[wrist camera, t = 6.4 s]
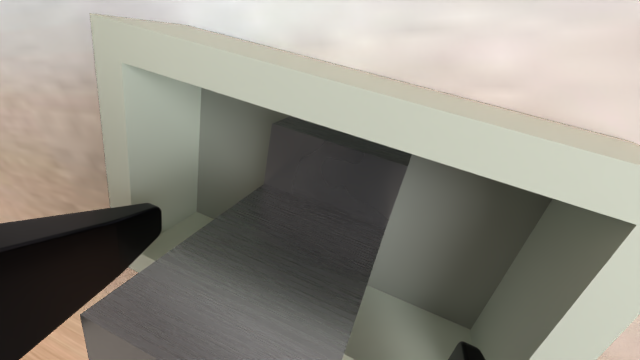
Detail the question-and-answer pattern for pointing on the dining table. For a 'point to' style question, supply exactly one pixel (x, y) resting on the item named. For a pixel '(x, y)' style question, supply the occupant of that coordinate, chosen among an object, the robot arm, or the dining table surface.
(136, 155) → the pale green open box
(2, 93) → the dining table surface
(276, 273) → the grey l-shaped step block
